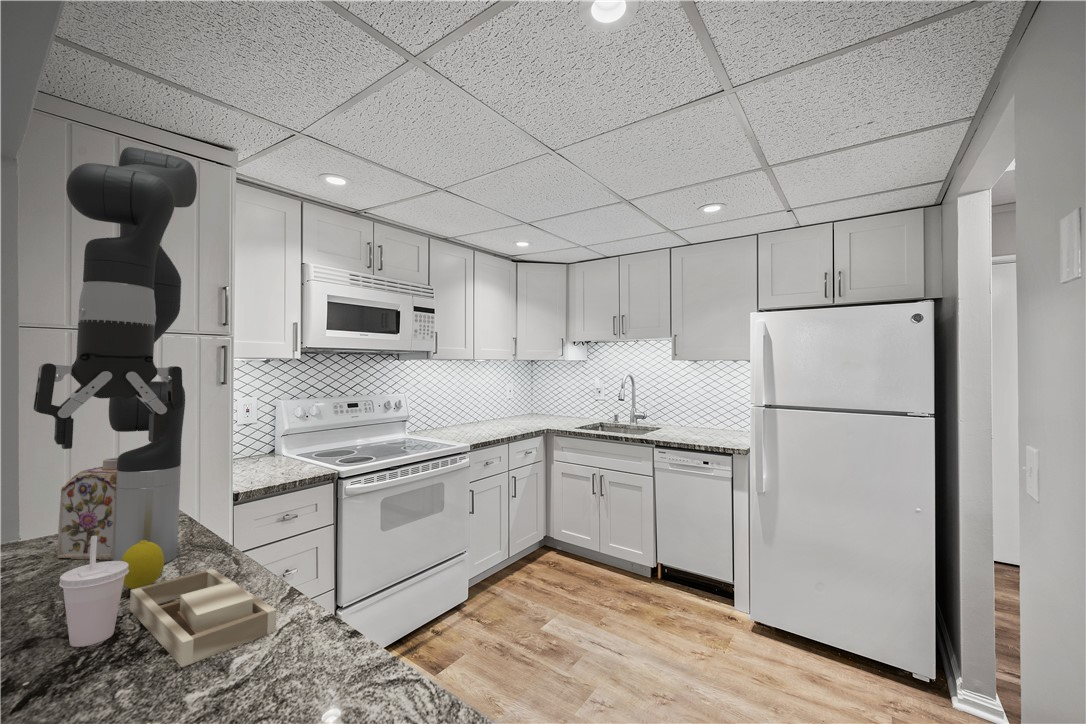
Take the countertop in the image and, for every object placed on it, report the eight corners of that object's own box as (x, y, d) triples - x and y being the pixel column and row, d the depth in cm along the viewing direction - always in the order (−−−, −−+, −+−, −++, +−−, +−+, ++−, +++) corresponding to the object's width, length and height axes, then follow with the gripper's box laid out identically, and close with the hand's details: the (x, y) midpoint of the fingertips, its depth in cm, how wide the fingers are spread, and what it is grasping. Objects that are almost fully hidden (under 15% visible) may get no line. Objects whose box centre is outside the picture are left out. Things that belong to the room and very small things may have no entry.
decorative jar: (167, 540, 100) (171, 454, 101) (115, 561, 88) (120, 463, 89) (112, 539, 101) (116, 453, 101) (53, 559, 89) (58, 462, 90)
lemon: (110, 601, 72) (113, 547, 73) (126, 587, 77) (129, 537, 78) (155, 595, 74) (158, 543, 75) (168, 582, 80) (170, 533, 80)
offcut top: (179, 610, 63) (180, 594, 63) (232, 595, 67) (232, 580, 67) (196, 632, 57) (197, 615, 57) (252, 614, 62) (252, 598, 62)
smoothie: (39, 666, 56) (46, 544, 56) (81, 637, 62) (86, 528, 63) (103, 660, 57) (108, 541, 58) (137, 633, 63) (142, 526, 64)
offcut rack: (129, 619, 67) (130, 589, 67) (211, 594, 75) (212, 568, 75) (181, 679, 54) (183, 642, 54) (275, 641, 62) (276, 609, 62)
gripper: (175, 327, 71) (170, 437, 70) (35, 316, 59) (28, 447, 59) (192, 324, 66) (187, 442, 66) (44, 312, 55) (36, 454, 54)
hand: (112, 444), depth 62 cm, fingers open, 8 cm apart
